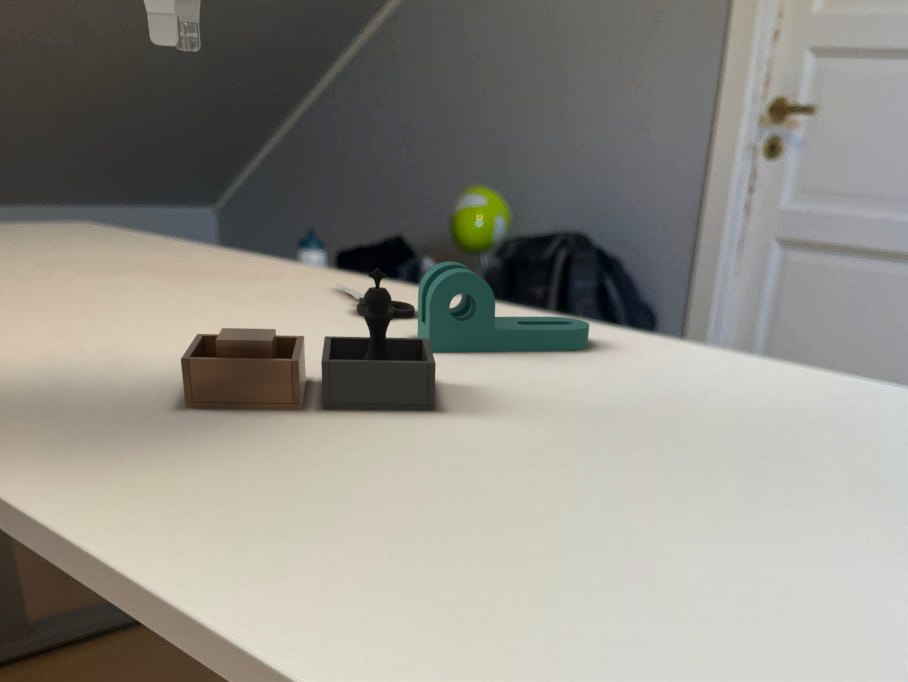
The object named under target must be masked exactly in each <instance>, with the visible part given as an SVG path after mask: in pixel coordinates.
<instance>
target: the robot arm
mask: <svg viewBox="0 0 908 682" xmlns="http://www.w3.org/2000/svg"><path fill="white" fill-rule="evenodd" d="M143 3H144V8H145V11H146V16H147V17H146V18H147V25H148V34H149V39H150V41H151V43H152V44H154V45H156V46H161V47H175V49H176V50H179V51H181V52H196V53H197V52H198V51H199V50H201V33H200V19H201V18H200V15H201V0H143Z"/></svg>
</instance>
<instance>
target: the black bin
mask: <svg viewBox="0 0 908 682" xmlns="http://www.w3.org/2000/svg"><path fill="white" fill-rule="evenodd" d="M369 344H370V336H334V335H333V336H327V335H326V336H324V338H323V347H322V353H321V361H320V365H321V384H322V385H321V391H322V409H323V410H341V411H342V410H347V411H349V410H350V411H428V412H429V411H430V412H432V411H436V406H435V405H436V360H435V357H434V354H433V353H434V352H433V353H432V349H431V346H430V343H429V339H428V338H418V337H387V336H386V345H387V349H388V352H389V355H390V357H391V359H392V361H386V360H364V359H365V356H366V354H367V352H368V348H369Z"/></svg>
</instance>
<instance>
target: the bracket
mask: <svg viewBox="0 0 908 682" xmlns="http://www.w3.org/2000/svg"><path fill="white" fill-rule="evenodd" d="M421 278H422V279H421V280H420V283H419V286H418V291H417V338H428V339H429V343H430V346H431V349H432V353H513V352H514V353H515V352H516V353H518V352H519V353H520V352H521V353H522V352H527V353H528V352H529V353H530V352H575V351H576V352H577V351H582V350H584V349H587V348H588V344H589V333H590V323H588V322H587V321H585V320H582V319H577V318H574V317H573V318H572V317H564V316H496V297H495V295H494V291H493V289H492V288H491V286H490V285H489V283H488V282H487V281H486V280H485V279H484V278H482V277H481V275H478V274H477V273H476V272H474V270H472V269H470V267H468V266H466V265H465V264H463V263H460V262H458V261H442V262H439V263H436V264H435V265H433V266H432V267H431V268H429V270H427V271H426V272H425V274H424V275H423V276H422V277H421ZM459 295H461V298H460V301H459V302H458V303H457V305H455V306H453V307H451V302H452V300H453V299H454V298H455V297H456V296H459Z"/></svg>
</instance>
